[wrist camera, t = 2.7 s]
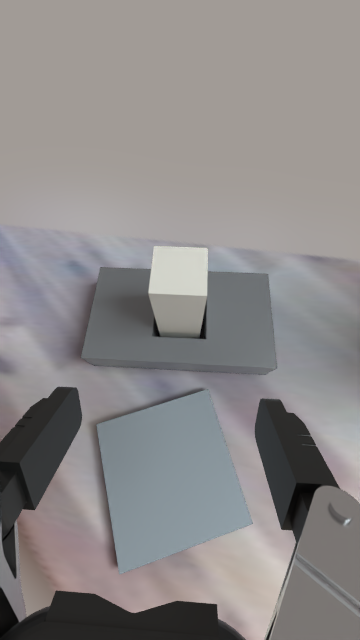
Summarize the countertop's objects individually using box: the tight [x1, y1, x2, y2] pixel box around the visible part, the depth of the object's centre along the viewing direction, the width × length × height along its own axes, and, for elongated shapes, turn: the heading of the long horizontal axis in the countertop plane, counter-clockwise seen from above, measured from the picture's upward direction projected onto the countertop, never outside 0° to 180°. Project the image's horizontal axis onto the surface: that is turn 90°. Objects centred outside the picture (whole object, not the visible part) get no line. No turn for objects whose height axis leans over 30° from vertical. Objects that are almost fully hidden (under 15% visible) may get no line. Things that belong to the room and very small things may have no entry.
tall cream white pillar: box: [148, 246, 208, 339], centre depth 22 cm, size 4×4×11 cm
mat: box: [96, 389, 253, 574], centre depth 21 cm, size 11×11×1 cm
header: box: [81, 267, 277, 375], centre depth 26 cm, size 18×10×4 cm, turn 87°
